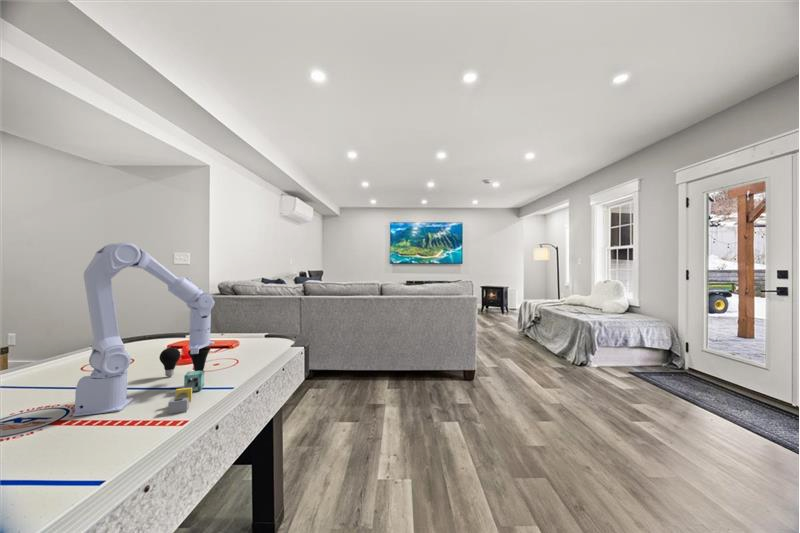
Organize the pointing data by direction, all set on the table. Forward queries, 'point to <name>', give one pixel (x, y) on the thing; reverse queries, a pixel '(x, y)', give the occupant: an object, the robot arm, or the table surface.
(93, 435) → the table surface
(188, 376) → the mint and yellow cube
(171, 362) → the light bulb
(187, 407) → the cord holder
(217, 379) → the table surface
